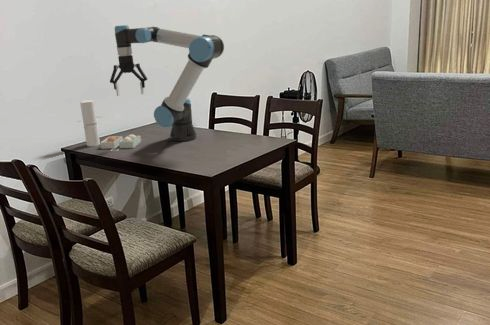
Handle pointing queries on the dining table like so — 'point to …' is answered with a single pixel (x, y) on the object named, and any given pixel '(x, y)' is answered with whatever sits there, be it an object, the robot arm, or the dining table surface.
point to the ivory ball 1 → (127, 139)
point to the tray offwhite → (111, 143)
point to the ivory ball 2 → (132, 137)
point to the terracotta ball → (111, 139)
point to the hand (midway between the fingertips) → (130, 94)
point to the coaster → (114, 150)
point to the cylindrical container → (90, 123)
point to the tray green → (130, 143)
